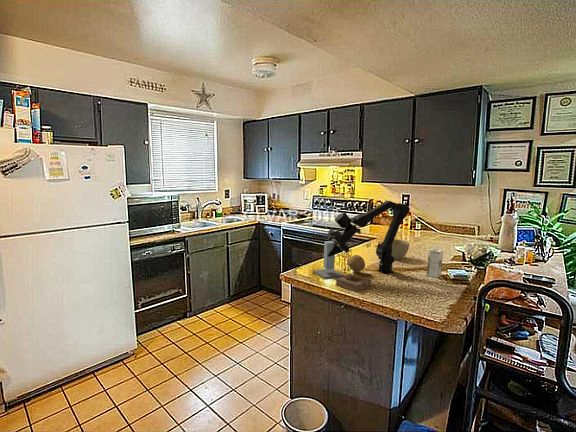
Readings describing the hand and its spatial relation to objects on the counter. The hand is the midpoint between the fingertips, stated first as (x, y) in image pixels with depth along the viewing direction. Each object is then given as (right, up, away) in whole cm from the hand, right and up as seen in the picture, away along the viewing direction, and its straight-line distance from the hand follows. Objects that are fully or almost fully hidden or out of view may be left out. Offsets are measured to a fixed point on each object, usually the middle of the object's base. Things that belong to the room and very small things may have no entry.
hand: (326, 255), depth 173 cm
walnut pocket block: (+11, -13, -14) cm, 22 cm away
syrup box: (+58, -12, +3) cm, 59 cm away
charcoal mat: (+1, -11, +2) cm, 11 cm away
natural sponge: (+17, -11, +6) cm, 21 cm away
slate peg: (+1, -7, +1) cm, 7 cm away
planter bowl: (+49, -7, +39) cm, 63 cm away
